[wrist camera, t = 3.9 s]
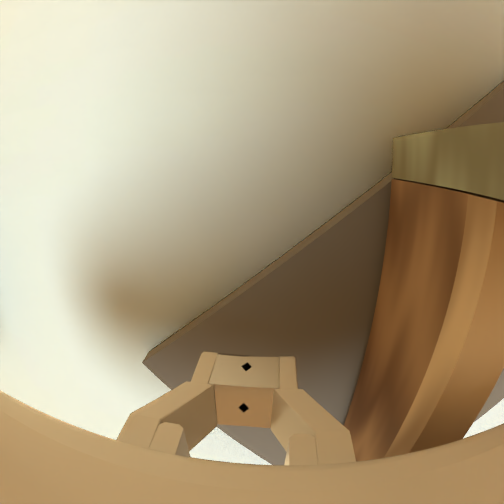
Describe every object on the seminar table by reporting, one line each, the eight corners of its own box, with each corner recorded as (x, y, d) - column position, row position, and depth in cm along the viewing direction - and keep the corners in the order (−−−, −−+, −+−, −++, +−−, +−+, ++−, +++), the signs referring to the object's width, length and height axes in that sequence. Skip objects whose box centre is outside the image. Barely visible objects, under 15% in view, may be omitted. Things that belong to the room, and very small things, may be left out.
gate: (360, 450, 14) (377, 537, 8) (329, 452, 14) (339, 544, 8) (431, 144, 9) (563, 144, 3) (386, 136, 9) (512, 116, 3)
